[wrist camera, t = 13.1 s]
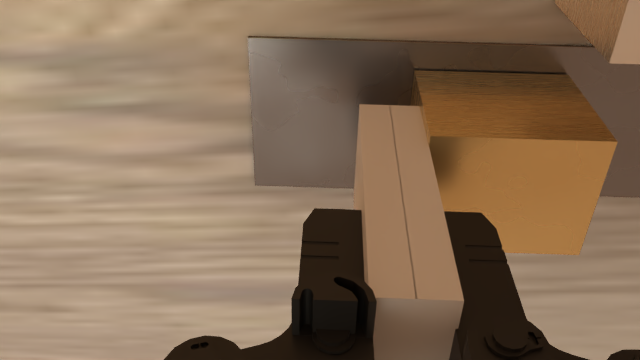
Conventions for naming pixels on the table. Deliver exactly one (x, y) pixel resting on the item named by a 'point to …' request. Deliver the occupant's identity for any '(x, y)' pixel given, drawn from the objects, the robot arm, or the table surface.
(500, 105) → the block
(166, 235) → the table surface
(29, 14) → the table surface
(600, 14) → the jaw
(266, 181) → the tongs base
